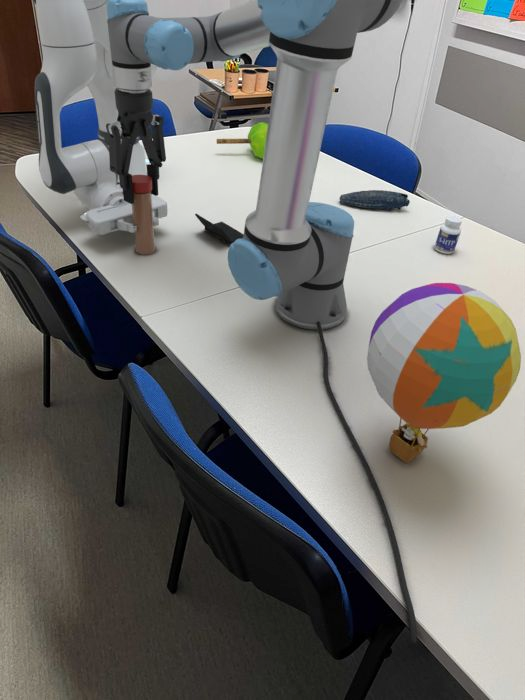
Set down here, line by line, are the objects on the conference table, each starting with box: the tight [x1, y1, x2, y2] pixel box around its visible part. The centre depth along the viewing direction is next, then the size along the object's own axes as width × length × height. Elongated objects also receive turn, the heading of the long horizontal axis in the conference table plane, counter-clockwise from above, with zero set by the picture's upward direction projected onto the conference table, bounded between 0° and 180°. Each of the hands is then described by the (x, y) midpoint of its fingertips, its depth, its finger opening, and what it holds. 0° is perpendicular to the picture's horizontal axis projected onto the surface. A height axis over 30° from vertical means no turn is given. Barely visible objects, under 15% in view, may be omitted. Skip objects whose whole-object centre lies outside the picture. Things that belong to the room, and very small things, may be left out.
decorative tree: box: [216, 121, 268, 160], centre depth 186 cm, size 18×10×30 cm
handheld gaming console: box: [194, 213, 244, 246], centre depth 135 cm, size 12×7×10 cm
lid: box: [132, 175, 152, 193], centre depth 118 cm, size 5×5×2 cm
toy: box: [366, 282, 522, 464], centre depth 73 cm, size 20×20×30 cm
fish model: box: [339, 189, 411, 211], centre depth 158 cm, size 7×21×5 cm, turn 84°
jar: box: [132, 191, 156, 256], centre depth 123 cm, size 5×5×17 cm
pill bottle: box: [434, 215, 463, 255], centre depth 137 cm, size 5×5×9 cm
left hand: (145, 226), depth 124 cm, fingers closed on jar, 5 cm apart
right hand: (141, 197), depth 120 cm, fingers open, 6 cm apart
